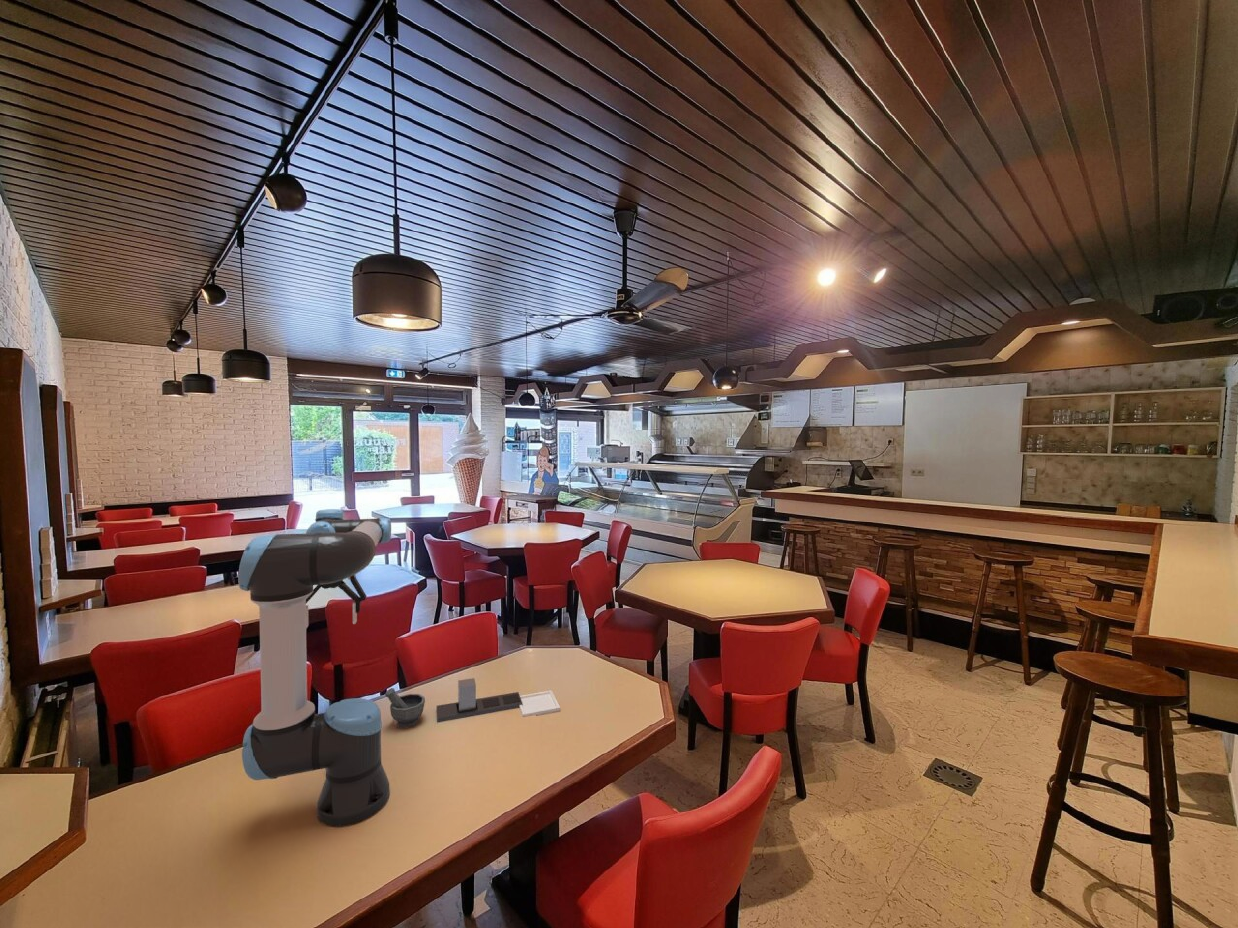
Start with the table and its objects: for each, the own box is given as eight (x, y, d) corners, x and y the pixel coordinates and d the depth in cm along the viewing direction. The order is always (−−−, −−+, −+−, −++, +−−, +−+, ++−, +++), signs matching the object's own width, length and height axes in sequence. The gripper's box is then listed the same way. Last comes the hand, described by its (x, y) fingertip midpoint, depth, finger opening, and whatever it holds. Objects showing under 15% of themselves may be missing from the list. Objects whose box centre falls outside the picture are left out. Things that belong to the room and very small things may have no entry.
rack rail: (522, 708, 161) (522, 703, 161) (437, 723, 151) (437, 718, 151) (518, 696, 168) (518, 691, 168) (436, 710, 159) (436, 705, 159)
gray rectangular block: (475, 712, 157) (475, 684, 157) (459, 715, 155) (459, 687, 155) (474, 705, 162) (474, 677, 161) (458, 707, 160) (458, 680, 160)
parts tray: (560, 711, 159) (560, 707, 159) (522, 718, 155) (522, 714, 155) (551, 693, 170) (551, 690, 170) (516, 699, 166) (516, 696, 166)
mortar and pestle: (421, 712, 158) (421, 674, 158) (428, 726, 150) (428, 687, 150) (382, 722, 152) (382, 683, 151) (387, 737, 144) (387, 696, 144)
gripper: (375, 553, 165) (375, 616, 165) (287, 558, 156) (288, 625, 157) (372, 558, 157) (372, 624, 158) (280, 563, 149) (281, 633, 150)
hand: (330, 624), depth 157 cm, fingers open, 13 cm apart
